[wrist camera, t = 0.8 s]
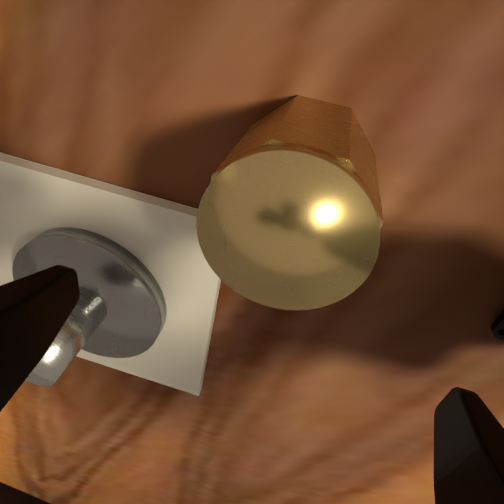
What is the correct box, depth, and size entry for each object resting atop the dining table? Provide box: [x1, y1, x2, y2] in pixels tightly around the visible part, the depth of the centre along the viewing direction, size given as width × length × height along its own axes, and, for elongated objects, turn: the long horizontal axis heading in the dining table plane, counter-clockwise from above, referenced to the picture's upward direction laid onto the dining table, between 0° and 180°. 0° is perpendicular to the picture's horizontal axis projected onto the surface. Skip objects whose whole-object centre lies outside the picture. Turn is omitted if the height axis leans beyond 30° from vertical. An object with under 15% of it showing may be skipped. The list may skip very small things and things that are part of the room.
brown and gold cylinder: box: [196, 95, 383, 310], centre depth 14 cm, size 6×6×7 cm
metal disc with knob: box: [12, 227, 167, 386], centre depth 22 cm, size 10×10×6 cm
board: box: [0, 152, 221, 396], centre depth 25 cm, size 18×16×1 cm
